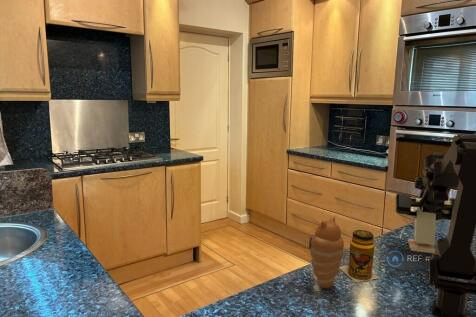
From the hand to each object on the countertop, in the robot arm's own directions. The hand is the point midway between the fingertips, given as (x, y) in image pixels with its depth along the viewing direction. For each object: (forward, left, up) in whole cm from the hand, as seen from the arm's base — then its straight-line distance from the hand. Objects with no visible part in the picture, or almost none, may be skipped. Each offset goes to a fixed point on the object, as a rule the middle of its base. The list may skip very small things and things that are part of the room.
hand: (423, 218), depth 113 cm
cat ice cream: (-42, +17, -9) cm, 46 cm away
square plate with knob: (-1, 0, -9) cm, 9 cm away
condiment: (-30, +12, -10) cm, 33 cm away
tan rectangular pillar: (-1, -1, -7) cm, 7 cm away
